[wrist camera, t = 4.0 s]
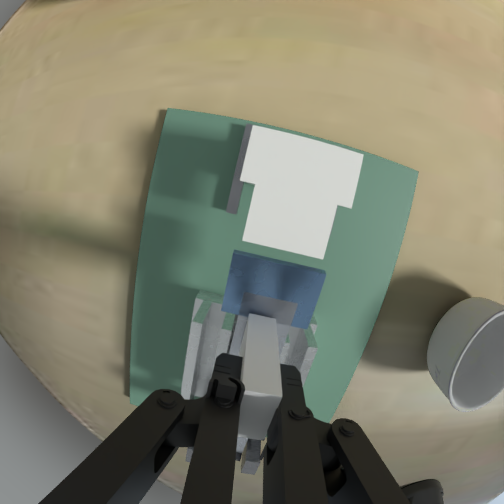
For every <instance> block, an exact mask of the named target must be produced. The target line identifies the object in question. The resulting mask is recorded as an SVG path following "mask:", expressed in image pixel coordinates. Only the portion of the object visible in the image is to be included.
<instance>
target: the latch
mask: <svg viewBox="0 0 504 504" xmlns="http://www.w3.org/2000/svg"><path fill="white" fill-rule="evenodd" d="M363 156H364V155H363V154H360V153H357V152H354V151H351V150H348V149H344V148H341V147H338V146H335V145H331V144H328V143H324V142H321V141H317V140H313V139H310V138H306V137H302V136H298V135H294V134H290V133H286V132H282V131H278V130H274V129H269V128H265V127H260V126H255V125H253V127H252V131H251V135H250V139H249V143H248V147H247V152H246V156H245V160H244V164H243V169H242V173H241V177H240V181H243V182H245V183H248V184H253V185H255V187H254V191H253V195H252V200H251V204H250V208H249V213H248V217H247V221H246V226H245V230H244V235H243V239H242V241H246V242H250V243H255V244H259V245H263V246H268V247H272V248H276V249H280V250H285V251H289V252H293V253H297V254H302V255H306V256H310V257H314V258H319V259H323V258H324V255H325V251H326V247H327V244H328V240H329V236H330V232H331V229H332V225H333V221H334V217H335V213H336V209H337V205H339V206H343V207H347V208H351V209H352V205H353V201H354V196H355V192H356V188H357V184H358V179H359V175H360V170H361V166H362V161H363Z"/></svg>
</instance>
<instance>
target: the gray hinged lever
mask: <svg viewBox="0 0 504 504" xmlns="http://www.w3.org/2000/svg"><path fill="white" fill-rule="evenodd" d="M326 275H327V274H326V272H325V270H321V269H317V268H313V267H309V266H304V265H300V264H296V263H291V262H287V261H283V260H278V259H274V258H270V257H265V256H261V255H257V254H252V253H248V252H244V251H239V250H235V249H234V252H233V255H232V260H231V265H230V270H229V274H228V279H227V284H226V289H225V294H224V298H223V303H222V308H221V311H223V312H228V313H232V314H236V315H238V318H237V322H236V327H235V331H234V335H233V339H232V343H231V348H230V352H229V354H231V355H236V356H239V351H240V347H241V344H242V340H243V336H244V332H245V328H246V324H247V320H248V316H249V313H251V314H256V315H260V316H265V317H270V318H275V319H276V324H277V336H278V347H279V358H280V355H281V352H282V349H283V346H284V343H285V341H286V338H287V335H288V332H289V329H290V326H292V327H297V328H302V329H308V326H309V323H310V321H311V318H312V315H313V312H314V310H315V307H316V304H317V301H318V298H319V295H320V293H321V290H322V287H323V284H324V281H325V278H326ZM247 440H248V438H244V437H238V438H237V448H236V459H235V460H237V461H240V459H241V455H242V452H243V450H244V447H245V445H246V442H247Z"/></svg>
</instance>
